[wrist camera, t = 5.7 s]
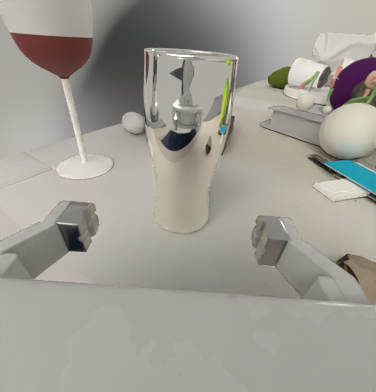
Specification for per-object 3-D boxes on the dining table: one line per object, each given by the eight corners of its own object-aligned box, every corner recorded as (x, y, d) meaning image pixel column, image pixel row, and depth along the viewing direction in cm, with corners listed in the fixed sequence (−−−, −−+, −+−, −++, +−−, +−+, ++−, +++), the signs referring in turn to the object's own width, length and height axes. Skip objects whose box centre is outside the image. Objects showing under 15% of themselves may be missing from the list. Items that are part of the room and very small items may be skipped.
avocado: (271, 70, 92) (300, 66, 90) (267, 68, 98) (293, 64, 97) (270, 92, 97) (297, 88, 95) (265, 89, 103) (291, 85, 102)
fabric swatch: (356, 110, 92) (295, 99, 98) (354, 91, 102) (299, 82, 109) (399, 43, 73) (320, 35, 79) (390, 29, 84) (321, 23, 90)
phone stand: (278, 161, 37) (281, 152, 36) (334, 155, 40) (338, 146, 39) (397, 251, 21) (408, 239, 20) (476, 231, 24) (489, 219, 23)
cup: (336, 56, 78) (303, 51, 85) (320, 74, 77) (288, 67, 84) (330, 81, 86) (301, 74, 93) (315, 97, 85) (286, 89, 92)
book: (364, 160, 38) (377, 139, 36) (255, 124, 52) (259, 107, 49) (382, 142, 47) (393, 124, 45) (285, 114, 60) (290, 100, 58)
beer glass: (168, 189, 27) (169, 47, 19) (220, 205, 26) (250, 55, 17) (136, 223, 22) (118, 47, 13) (199, 246, 20) (227, 59, 11)
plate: (272, 88, 96) (274, 82, 94) (331, 92, 98) (334, 86, 97) (303, 104, 73) (306, 96, 72) (379, 108, 76) (383, 101, 74)
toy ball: (381, 79, 66) (324, 84, 71) (411, 37, 52) (337, 48, 58) (381, 125, 64) (322, 127, 69) (411, 94, 50) (335, 100, 56)
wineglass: (38, 175, 28) (-54, -52, 16) (80, 149, 35) (37, -24, 23) (93, 186, 27) (36, -50, 15) (125, 157, 34) (104, -21, 22)
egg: (136, 139, 40) (135, 118, 38) (117, 130, 43) (114, 110, 41) (152, 134, 42) (151, 114, 40) (132, 126, 45) (131, 107, 43)
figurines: (534, 32, 22) (448, 171, 24) (507, 90, 29) (444, 191, 32) (299, 58, 40) (265, 136, 43) (320, 90, 48) (290, 154, 51)
